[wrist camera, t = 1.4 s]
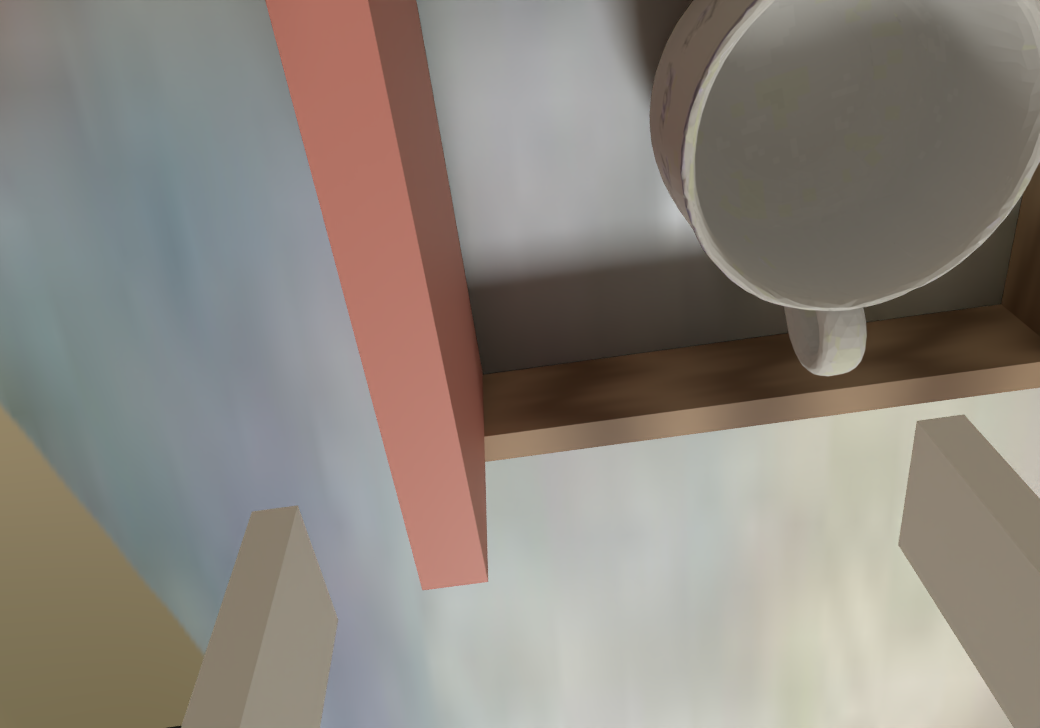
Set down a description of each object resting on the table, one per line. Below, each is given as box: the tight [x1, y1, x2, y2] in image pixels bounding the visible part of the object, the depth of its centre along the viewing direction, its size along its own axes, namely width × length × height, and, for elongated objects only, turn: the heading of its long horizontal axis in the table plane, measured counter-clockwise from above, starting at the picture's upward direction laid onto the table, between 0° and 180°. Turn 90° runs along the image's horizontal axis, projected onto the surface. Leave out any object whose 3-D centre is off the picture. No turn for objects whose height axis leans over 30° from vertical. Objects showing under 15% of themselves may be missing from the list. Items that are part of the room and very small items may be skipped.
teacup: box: [650, 0, 1040, 376], centre depth 27 cm, size 14×11×8 cm
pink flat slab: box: [265, 0, 488, 590], centre depth 26 cm, size 2×17×12 cm, turn 7°
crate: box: [483, 163, 1040, 462], centre depth 29 cm, size 25×20×4 cm
